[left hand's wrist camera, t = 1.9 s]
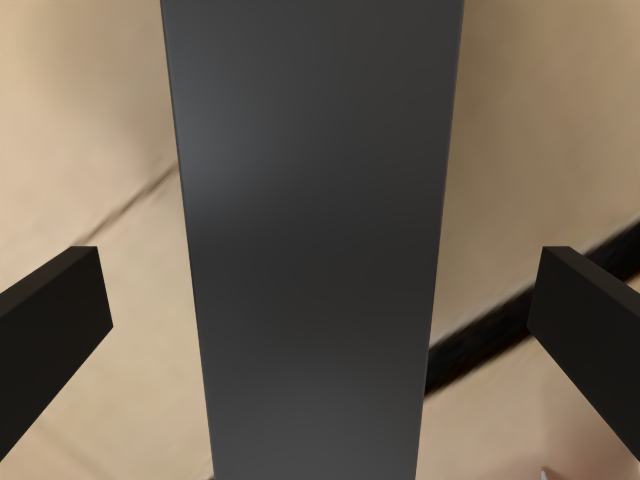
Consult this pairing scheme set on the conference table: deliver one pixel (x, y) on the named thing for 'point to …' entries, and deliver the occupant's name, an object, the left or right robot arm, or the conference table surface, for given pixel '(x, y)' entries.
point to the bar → (313, 223)
